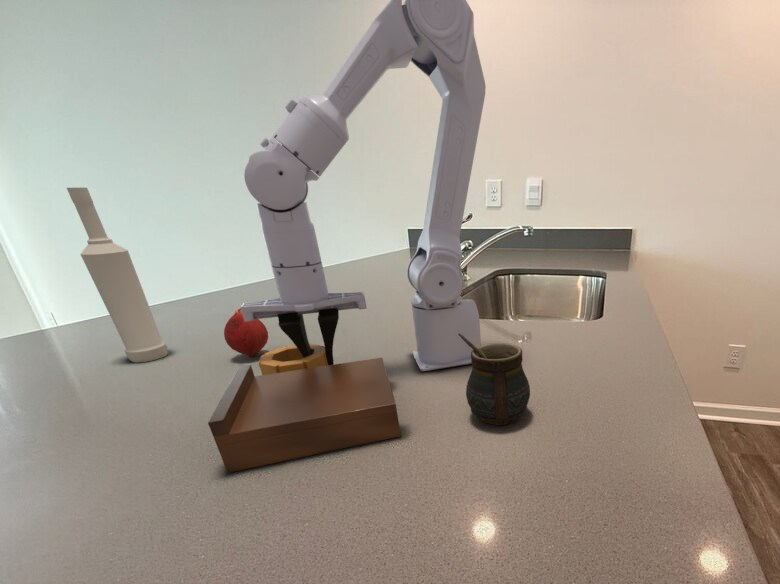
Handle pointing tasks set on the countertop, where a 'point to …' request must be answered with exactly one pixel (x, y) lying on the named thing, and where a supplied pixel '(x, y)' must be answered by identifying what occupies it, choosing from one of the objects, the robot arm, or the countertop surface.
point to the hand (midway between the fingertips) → (321, 364)
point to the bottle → (118, 285)
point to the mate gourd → (497, 383)
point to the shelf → (303, 413)
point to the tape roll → (292, 359)
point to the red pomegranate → (245, 334)
